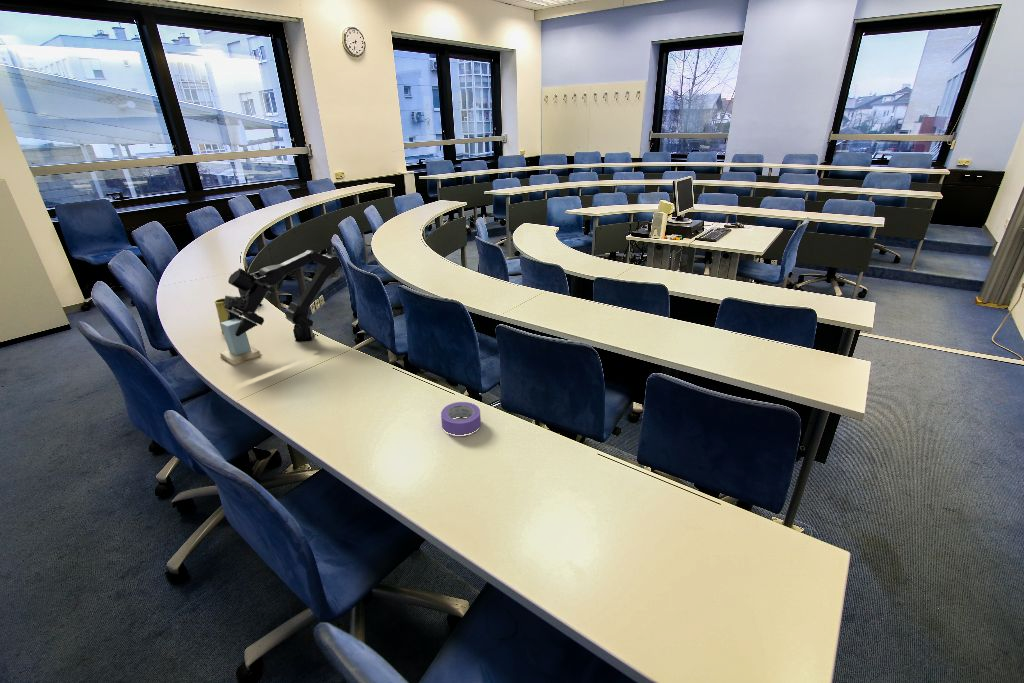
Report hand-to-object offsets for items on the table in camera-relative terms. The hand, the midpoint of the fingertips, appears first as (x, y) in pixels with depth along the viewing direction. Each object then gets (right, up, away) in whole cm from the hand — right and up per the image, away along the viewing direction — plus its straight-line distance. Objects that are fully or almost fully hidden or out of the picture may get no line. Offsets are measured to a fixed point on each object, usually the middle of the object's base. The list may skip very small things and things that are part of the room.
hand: (231, 333), depth 174 cm
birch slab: (+1, -9, +5) cm, 10 cm away
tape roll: (+89, -29, -32) cm, 99 cm away
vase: (-19, +1, +30) cm, 35 cm away
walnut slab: (+1, -10, +6) cm, 12 cm away
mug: (-28, +17, +62) cm, 70 cm away
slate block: (+1, -7, +4) cm, 8 cm away
